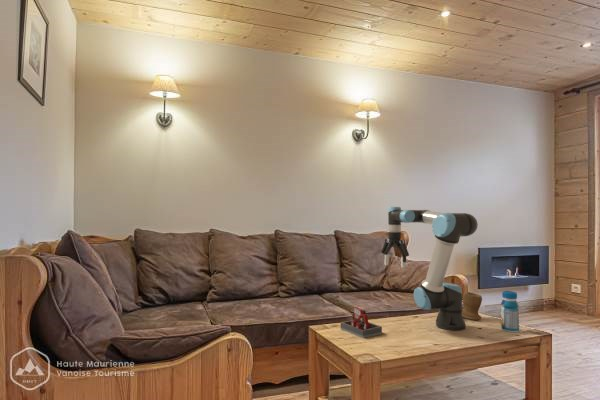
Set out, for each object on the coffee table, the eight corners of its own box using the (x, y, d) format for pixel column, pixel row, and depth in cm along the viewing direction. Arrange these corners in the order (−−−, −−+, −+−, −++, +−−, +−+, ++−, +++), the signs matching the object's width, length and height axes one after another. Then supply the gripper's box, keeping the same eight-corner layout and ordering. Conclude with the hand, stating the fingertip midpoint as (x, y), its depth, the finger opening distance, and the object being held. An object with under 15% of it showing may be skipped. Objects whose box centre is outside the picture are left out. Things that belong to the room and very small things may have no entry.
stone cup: (487, 319, 218) (486, 293, 219) (473, 322, 212) (473, 295, 213) (464, 313, 231) (464, 288, 232) (451, 315, 226) (451, 290, 226)
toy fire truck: (360, 333, 188) (360, 312, 188) (348, 326, 199) (348, 306, 199) (372, 332, 190) (372, 311, 190) (360, 325, 202) (360, 305, 202)
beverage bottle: (510, 333, 193) (510, 294, 193) (497, 328, 201) (496, 290, 201) (523, 331, 195) (522, 293, 196) (509, 327, 203) (508, 290, 204)
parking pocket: (381, 333, 191) (381, 326, 191) (362, 338, 184) (362, 330, 184) (358, 325, 205) (358, 318, 205) (340, 329, 198) (340, 322, 198)
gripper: (415, 232, 224) (415, 268, 223) (384, 230, 245) (384, 263, 244) (406, 232, 220) (406, 269, 219) (375, 231, 240) (375, 264, 240)
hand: (394, 266), depth 231 cm, fingers open, 13 cm apart
